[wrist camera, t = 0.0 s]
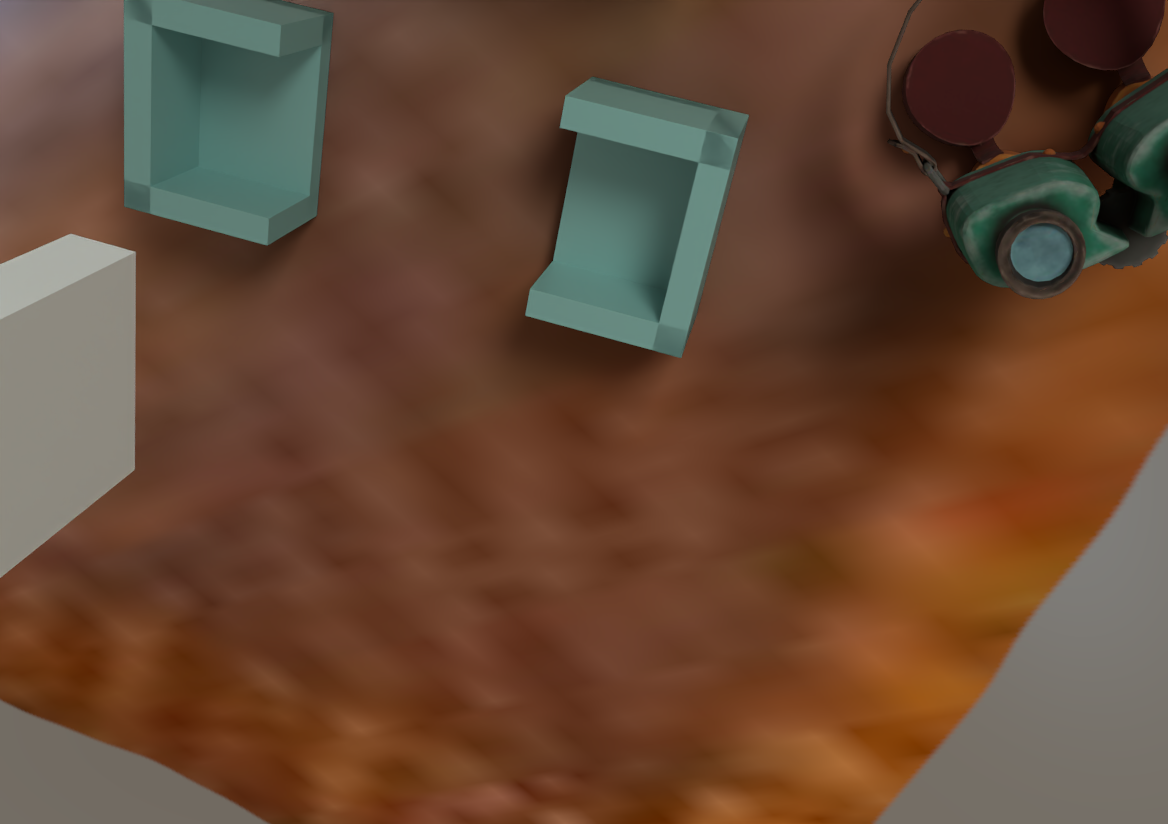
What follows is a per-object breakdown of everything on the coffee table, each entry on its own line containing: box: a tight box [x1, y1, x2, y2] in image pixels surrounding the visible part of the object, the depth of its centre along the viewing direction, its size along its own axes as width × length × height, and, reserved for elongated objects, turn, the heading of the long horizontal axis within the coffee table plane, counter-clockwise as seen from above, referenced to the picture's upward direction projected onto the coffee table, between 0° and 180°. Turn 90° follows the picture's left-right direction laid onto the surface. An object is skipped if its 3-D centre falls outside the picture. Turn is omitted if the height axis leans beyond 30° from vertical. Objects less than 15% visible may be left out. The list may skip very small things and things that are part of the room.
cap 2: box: [525, 77, 749, 358], centre depth 37 cm, size 8×6×4 cm
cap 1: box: [124, 0, 334, 245], centre depth 39 cm, size 8×6×4 cm
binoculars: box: [886, 0, 1168, 299], centre depth 30 cm, size 9×11×10 cm
